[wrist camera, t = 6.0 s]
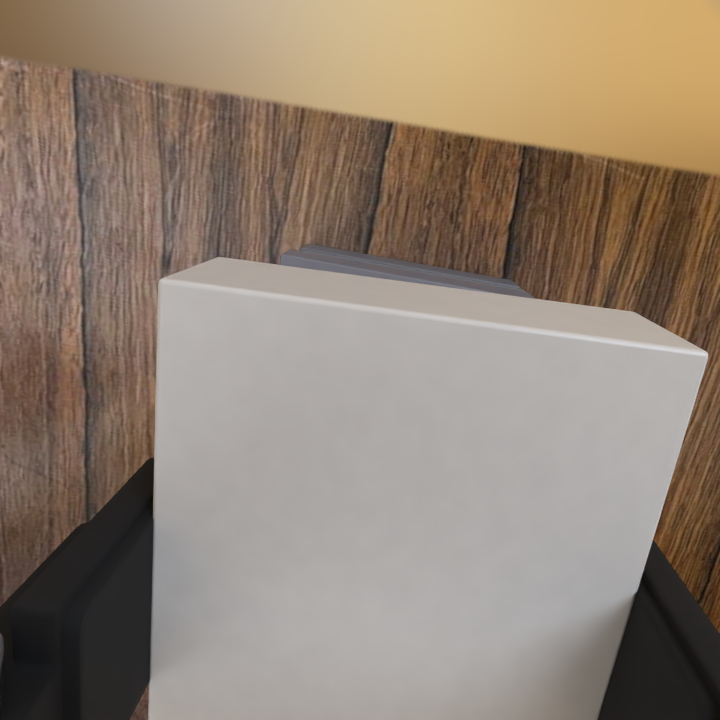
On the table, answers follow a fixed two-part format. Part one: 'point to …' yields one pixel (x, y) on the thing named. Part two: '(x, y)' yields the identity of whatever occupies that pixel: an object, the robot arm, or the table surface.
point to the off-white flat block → (400, 495)
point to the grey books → (395, 270)
